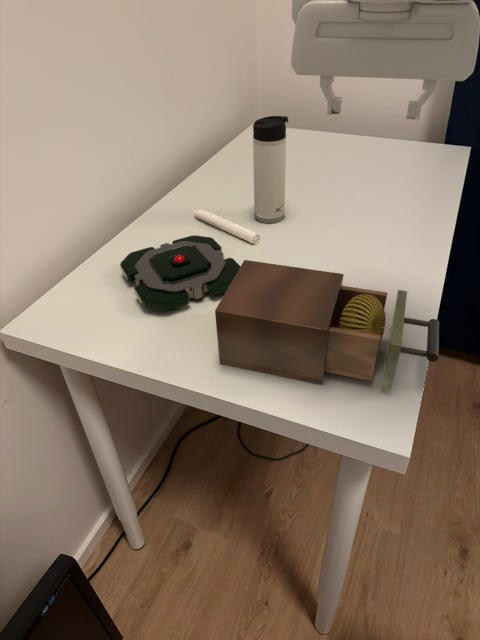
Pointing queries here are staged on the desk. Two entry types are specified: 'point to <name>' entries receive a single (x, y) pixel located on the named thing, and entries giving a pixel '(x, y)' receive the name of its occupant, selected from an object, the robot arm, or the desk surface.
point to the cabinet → (277, 320)
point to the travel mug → (269, 168)
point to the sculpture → (372, 316)
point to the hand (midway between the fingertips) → (372, 116)
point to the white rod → (227, 226)
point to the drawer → (373, 340)
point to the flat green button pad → (179, 272)
